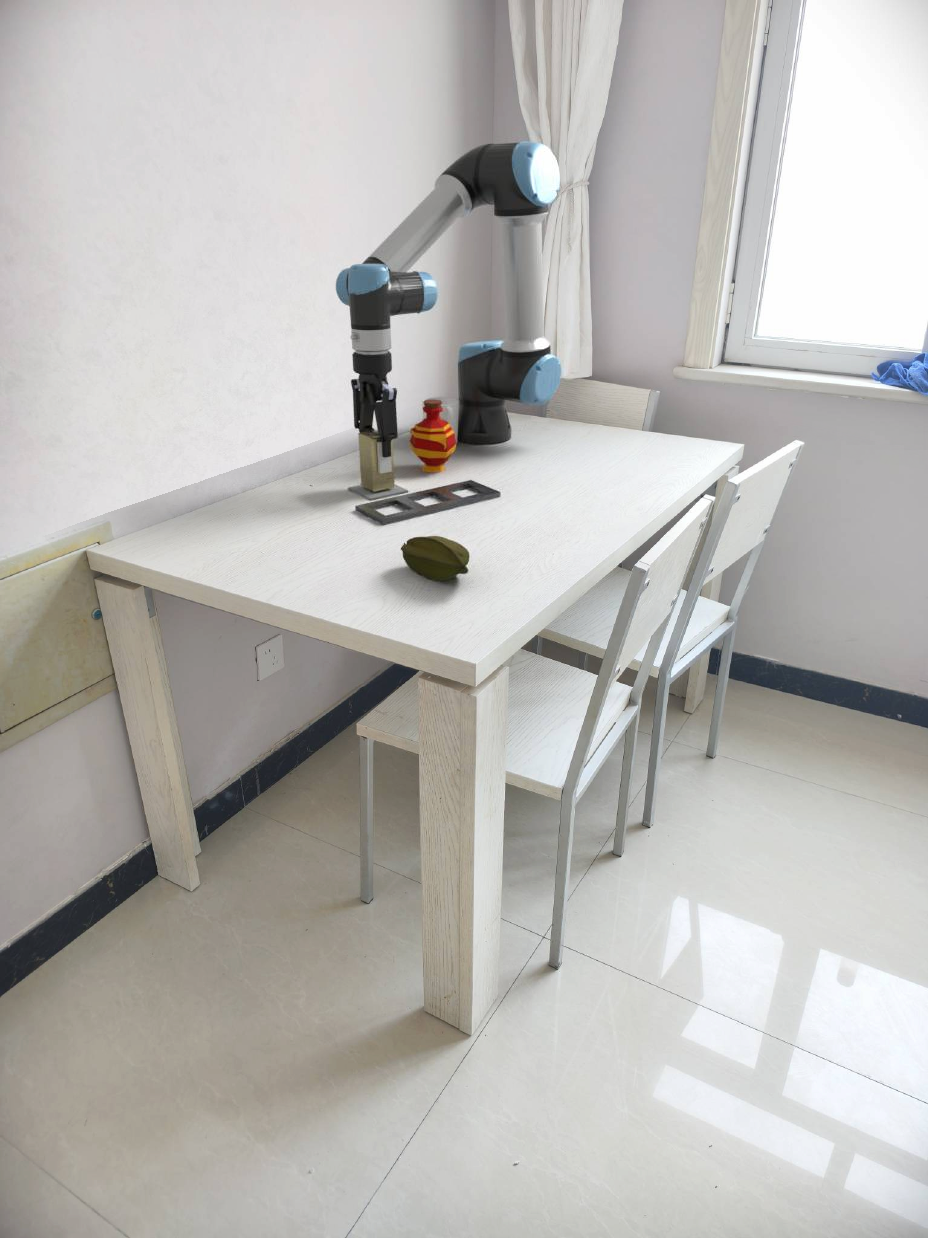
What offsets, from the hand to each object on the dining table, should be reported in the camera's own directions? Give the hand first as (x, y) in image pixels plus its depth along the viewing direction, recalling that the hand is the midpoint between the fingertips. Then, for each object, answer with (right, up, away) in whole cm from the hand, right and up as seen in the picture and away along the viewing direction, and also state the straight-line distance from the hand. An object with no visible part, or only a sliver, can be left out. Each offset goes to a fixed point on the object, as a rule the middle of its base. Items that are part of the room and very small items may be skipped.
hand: (377, 468), depth 174 cm
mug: (+13, +12, +35) cm, 39 cm away
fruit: (+13, -24, -37) cm, 46 cm away
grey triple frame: (+11, -8, -5) cm, 14 cm away
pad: (0, -4, +2) cm, 5 cm away
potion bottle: (+11, +2, +16) cm, 20 cm away
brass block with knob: (0, -3, +2) cm, 4 cm away
